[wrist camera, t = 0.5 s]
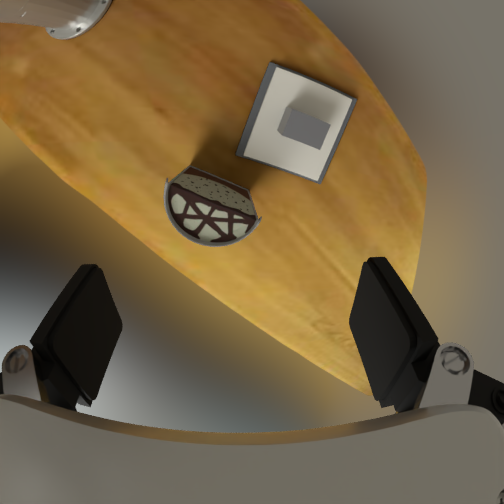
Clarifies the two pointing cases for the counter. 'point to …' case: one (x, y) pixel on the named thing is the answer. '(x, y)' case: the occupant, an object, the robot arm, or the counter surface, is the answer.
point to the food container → (209, 208)
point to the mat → (256, 109)
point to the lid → (297, 124)
